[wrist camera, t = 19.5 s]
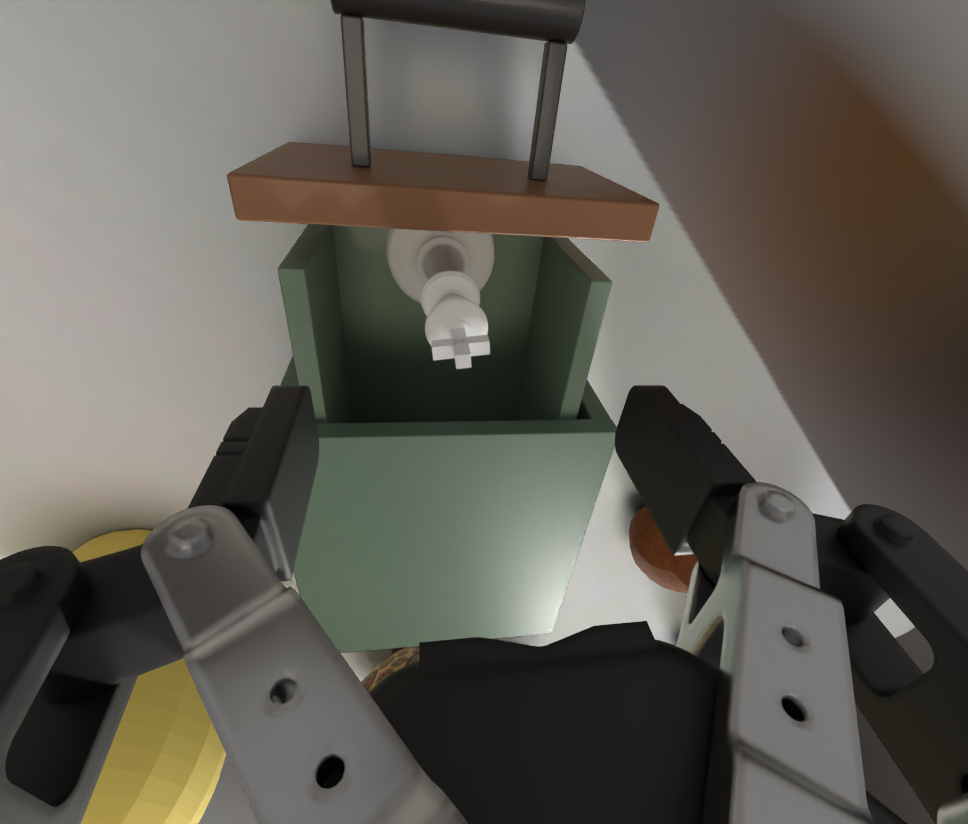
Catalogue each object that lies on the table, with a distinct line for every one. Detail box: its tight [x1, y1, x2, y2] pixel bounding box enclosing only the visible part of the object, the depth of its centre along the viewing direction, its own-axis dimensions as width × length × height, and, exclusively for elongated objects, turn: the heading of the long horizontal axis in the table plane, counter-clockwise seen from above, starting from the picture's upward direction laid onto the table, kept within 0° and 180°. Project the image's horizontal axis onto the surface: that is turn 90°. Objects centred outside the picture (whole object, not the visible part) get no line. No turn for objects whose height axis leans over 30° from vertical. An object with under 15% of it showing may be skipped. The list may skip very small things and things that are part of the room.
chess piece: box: [386, 228, 495, 369], centre depth 17 cm, size 5×5×10 cm
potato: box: [629, 506, 698, 593], centre depth 36 cm, size 6×12×6 cm, turn 42°
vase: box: [72, 529, 226, 824], centre depth 22 cm, size 16×16×28 cm
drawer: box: [227, 0, 659, 424], centre depth 19 cm, size 20×13×8 cm, turn 175°
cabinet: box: [280, 356, 617, 653], centre depth 26 cm, size 16×14×10 cm
